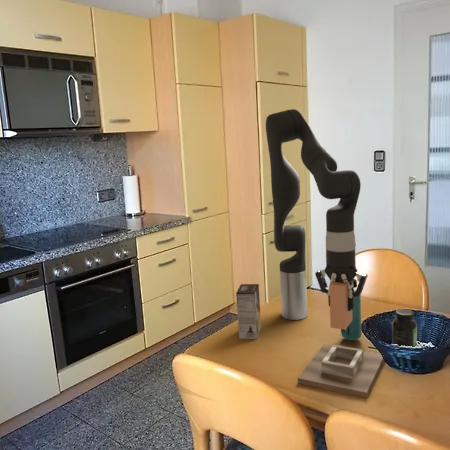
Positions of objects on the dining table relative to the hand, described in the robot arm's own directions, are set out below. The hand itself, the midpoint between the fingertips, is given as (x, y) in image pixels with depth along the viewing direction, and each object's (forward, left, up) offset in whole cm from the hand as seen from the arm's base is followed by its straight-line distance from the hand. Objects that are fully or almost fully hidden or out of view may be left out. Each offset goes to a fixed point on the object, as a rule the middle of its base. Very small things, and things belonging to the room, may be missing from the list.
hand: (341, 308), depth 127 cm
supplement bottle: (-19, +13, -18) cm, 29 cm away
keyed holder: (0, 0, -18) cm, 18 cm away
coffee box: (-13, -35, -18) cm, 42 cm away
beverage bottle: (-20, -3, -18) cm, 27 cm away
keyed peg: (0, 0, -4) cm, 4 cm away
